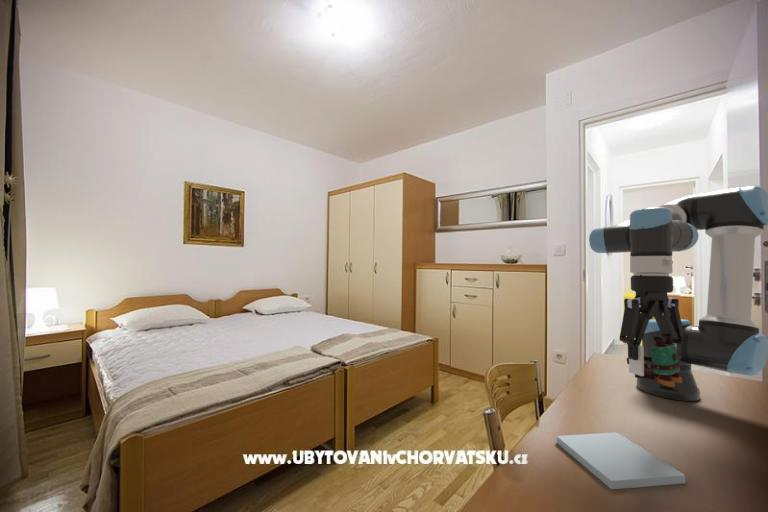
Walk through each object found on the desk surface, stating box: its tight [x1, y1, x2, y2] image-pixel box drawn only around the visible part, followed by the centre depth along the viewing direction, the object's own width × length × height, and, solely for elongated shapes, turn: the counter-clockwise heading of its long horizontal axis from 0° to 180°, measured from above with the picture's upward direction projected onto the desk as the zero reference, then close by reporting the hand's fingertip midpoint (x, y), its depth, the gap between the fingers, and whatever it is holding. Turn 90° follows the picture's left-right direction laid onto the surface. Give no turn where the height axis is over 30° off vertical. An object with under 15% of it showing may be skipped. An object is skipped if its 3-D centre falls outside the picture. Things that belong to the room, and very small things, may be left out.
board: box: [556, 432, 686, 490], centre depth 65 cm, size 15×15×2 cm
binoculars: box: [626, 333, 682, 387], centre depth 72 cm, size 9×11×10 cm
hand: (653, 372), depth 72 cm, fingers closed on binoculars, 9 cm apart
